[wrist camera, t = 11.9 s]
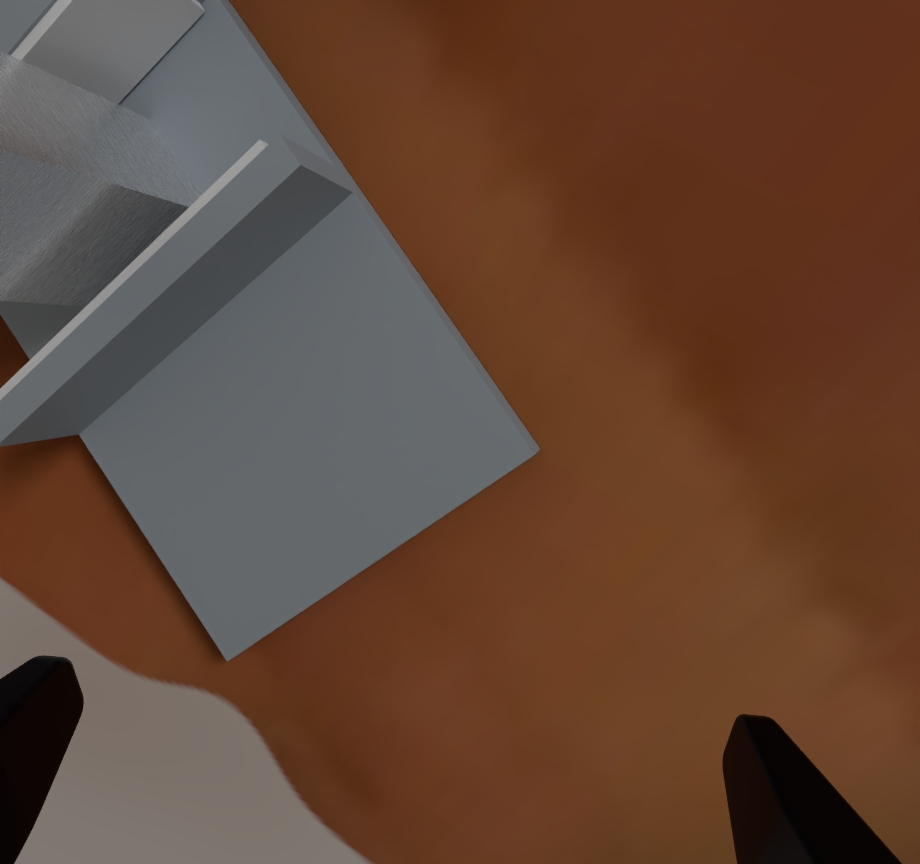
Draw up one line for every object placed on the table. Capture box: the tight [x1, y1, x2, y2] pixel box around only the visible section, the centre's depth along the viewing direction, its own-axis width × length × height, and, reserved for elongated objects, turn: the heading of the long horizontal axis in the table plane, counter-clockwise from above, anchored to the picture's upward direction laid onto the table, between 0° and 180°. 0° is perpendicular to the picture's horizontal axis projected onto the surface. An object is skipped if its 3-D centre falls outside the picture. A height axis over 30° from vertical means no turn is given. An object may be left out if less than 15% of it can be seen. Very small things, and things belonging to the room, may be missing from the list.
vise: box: [0, 0, 540, 661], centre depth 20 cm, size 18×12×4 cm, turn 35°
